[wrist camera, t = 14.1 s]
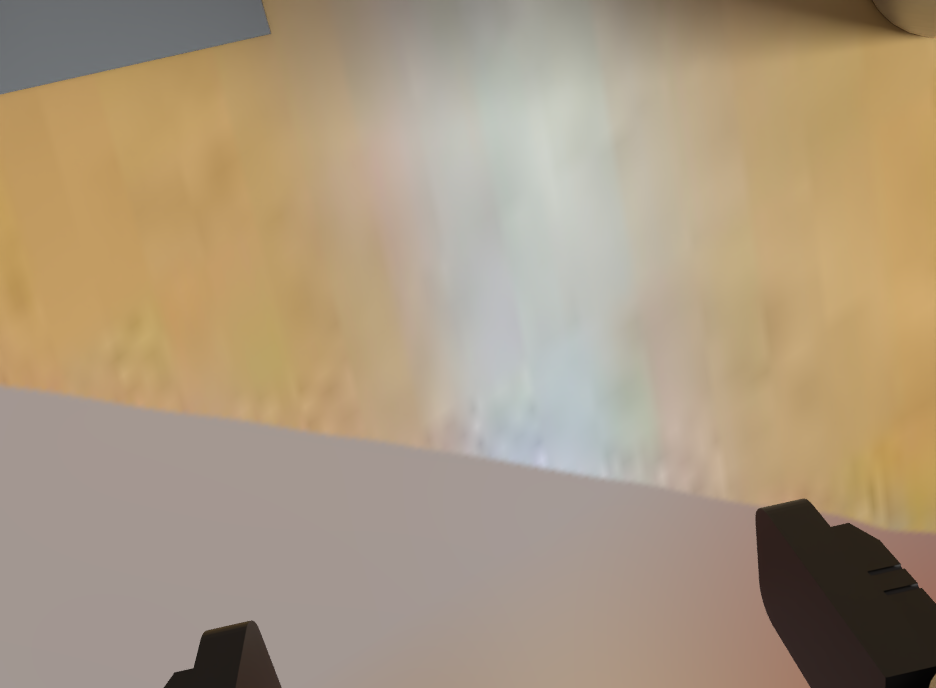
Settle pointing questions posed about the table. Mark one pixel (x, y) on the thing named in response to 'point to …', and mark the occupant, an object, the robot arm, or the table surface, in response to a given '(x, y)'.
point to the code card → (112, 34)
